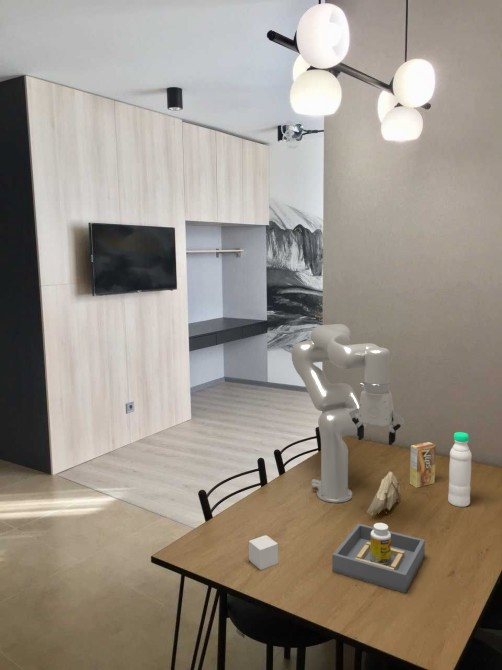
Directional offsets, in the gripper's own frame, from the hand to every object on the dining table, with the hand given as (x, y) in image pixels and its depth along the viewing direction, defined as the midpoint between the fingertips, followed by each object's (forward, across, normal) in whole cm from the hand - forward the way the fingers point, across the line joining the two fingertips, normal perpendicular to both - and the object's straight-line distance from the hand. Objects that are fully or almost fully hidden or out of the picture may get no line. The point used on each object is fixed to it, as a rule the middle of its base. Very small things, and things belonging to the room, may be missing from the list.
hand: (376, 441), depth 171 cm
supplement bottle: (+28, +8, -20) cm, 35 cm away
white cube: (+29, -21, -35) cm, 50 cm away
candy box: (+28, +5, +40) cm, 49 cm away
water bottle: (+28, +20, +30) cm, 46 cm away
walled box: (+28, +8, -20) cm, 36 cm away
